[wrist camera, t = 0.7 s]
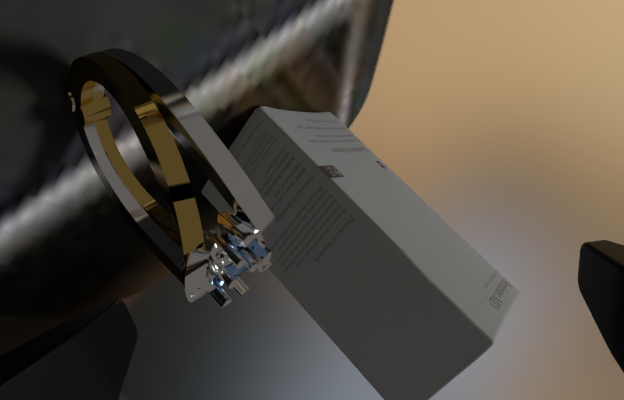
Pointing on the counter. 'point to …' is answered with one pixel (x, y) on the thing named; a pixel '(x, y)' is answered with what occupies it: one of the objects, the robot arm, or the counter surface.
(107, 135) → the ring
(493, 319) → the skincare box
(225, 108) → the counter surface
